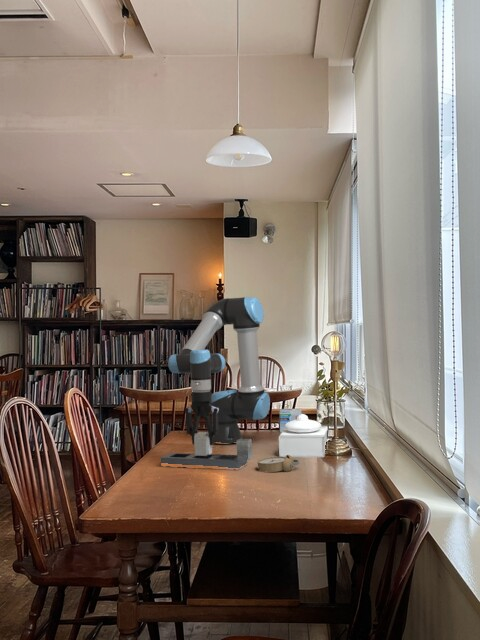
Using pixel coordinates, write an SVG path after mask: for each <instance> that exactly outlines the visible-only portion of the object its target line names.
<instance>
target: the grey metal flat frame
mask: <svg viewBox="0 0 480 640" xmlns="http://www.w3.org/2000/svg"><path fill="white" fill-rule="evenodd" d="M161 463H168V464H182V465H203V466H218V467H228V468H240V467H241V466H243V465H245V464H246V463H247V464H248V462H247V455H237V454H217V453H211V454H209V455H207V456H198V455H195V452H194V453H193V452H192V453H191V452H190V453H189V452H171V453H167V454H165V455H164V456H161V457H160V464H161Z"/></svg>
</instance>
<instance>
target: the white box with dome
mask: <svg viewBox="0 0 480 640" xmlns="http://www.w3.org/2000/svg"><path fill="white" fill-rule="evenodd" d="M284 427H285V430H284V431H283V432H282V433H280V435H278V451H279V453H278V455H279V456H278V457H286V456H287V455H291V456H292V457H293V458H324V457H325V456H326V453H325V450H326V449H325V445H326V442H327V443H328V434H327V433H328V430H329V429H328V427H322V424H321V423H320V422H319V421H317V420H314V419H313V420H312V419H309V417H308V415H306V414H305V413H302V414H301V415H299V416H298V417H297V420H293V421H290V422H288V423H286V424H285V426H284Z"/></svg>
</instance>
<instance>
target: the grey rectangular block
mask: <svg viewBox="0 0 480 640" xmlns="http://www.w3.org/2000/svg"><path fill="white" fill-rule="evenodd" d="M208 435H209V434H208V431H197V433H195V449H194V453H195V455H198V456H207V455H209V454H207V437H208Z"/></svg>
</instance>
